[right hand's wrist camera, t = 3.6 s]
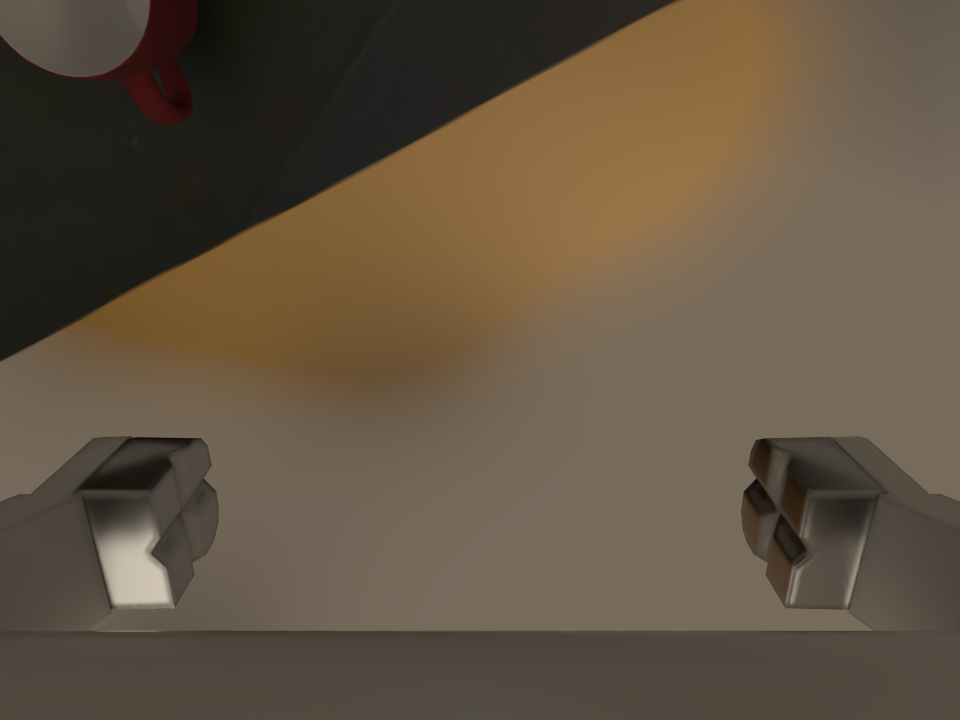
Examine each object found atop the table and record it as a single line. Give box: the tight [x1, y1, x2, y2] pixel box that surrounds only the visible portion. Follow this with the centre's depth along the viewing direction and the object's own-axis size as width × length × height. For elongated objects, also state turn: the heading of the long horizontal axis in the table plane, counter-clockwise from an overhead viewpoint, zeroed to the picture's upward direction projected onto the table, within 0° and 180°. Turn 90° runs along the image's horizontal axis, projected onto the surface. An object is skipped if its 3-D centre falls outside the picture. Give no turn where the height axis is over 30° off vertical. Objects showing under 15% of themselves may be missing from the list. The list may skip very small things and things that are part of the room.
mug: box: [0, 0, 198, 126], centre depth 35 cm, size 10×8×10 cm
